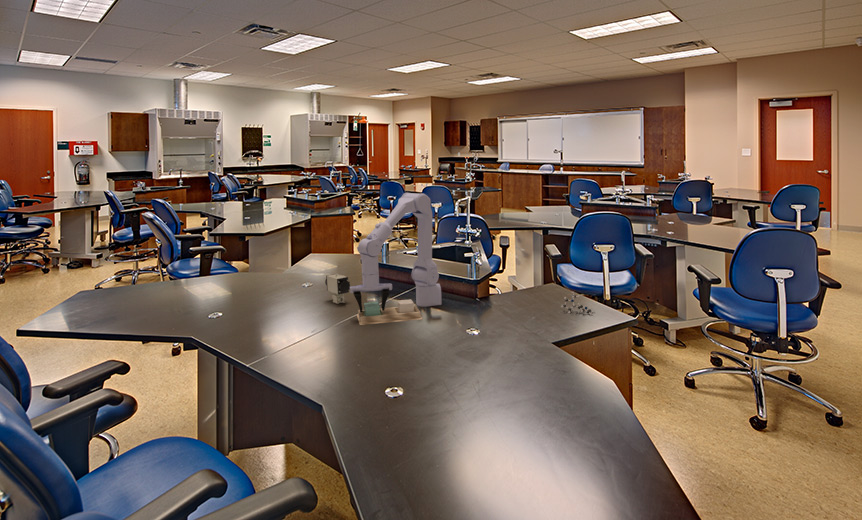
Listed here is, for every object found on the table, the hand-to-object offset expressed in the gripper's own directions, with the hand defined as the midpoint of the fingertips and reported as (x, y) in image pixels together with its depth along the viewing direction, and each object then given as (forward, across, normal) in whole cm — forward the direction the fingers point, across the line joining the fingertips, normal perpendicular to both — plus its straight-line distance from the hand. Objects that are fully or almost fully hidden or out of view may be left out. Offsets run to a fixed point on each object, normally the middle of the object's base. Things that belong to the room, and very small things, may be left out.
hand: (372, 310), depth 176 cm
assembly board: (+4, -6, 0) cm, 7 cm away
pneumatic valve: (+4, +10, -28) cm, 30 cm away
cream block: (+3, -12, 0) cm, 12 cm away
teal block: (+3, 0, 0) cm, 3 cm away
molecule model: (+4, -73, +12) cm, 74 cm away
